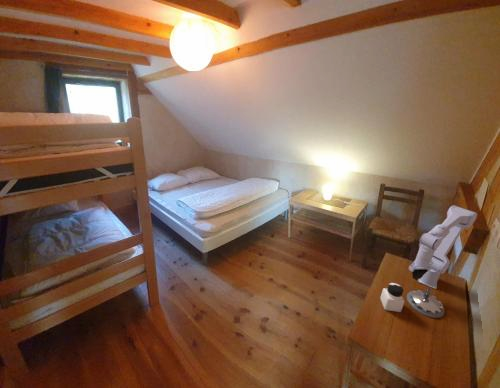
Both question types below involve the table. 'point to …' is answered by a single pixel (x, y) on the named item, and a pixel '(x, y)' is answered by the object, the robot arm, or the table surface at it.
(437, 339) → the table surface
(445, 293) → the table surface
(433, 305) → the sprocket
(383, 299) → the medicine bottle
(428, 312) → the sprocket base
